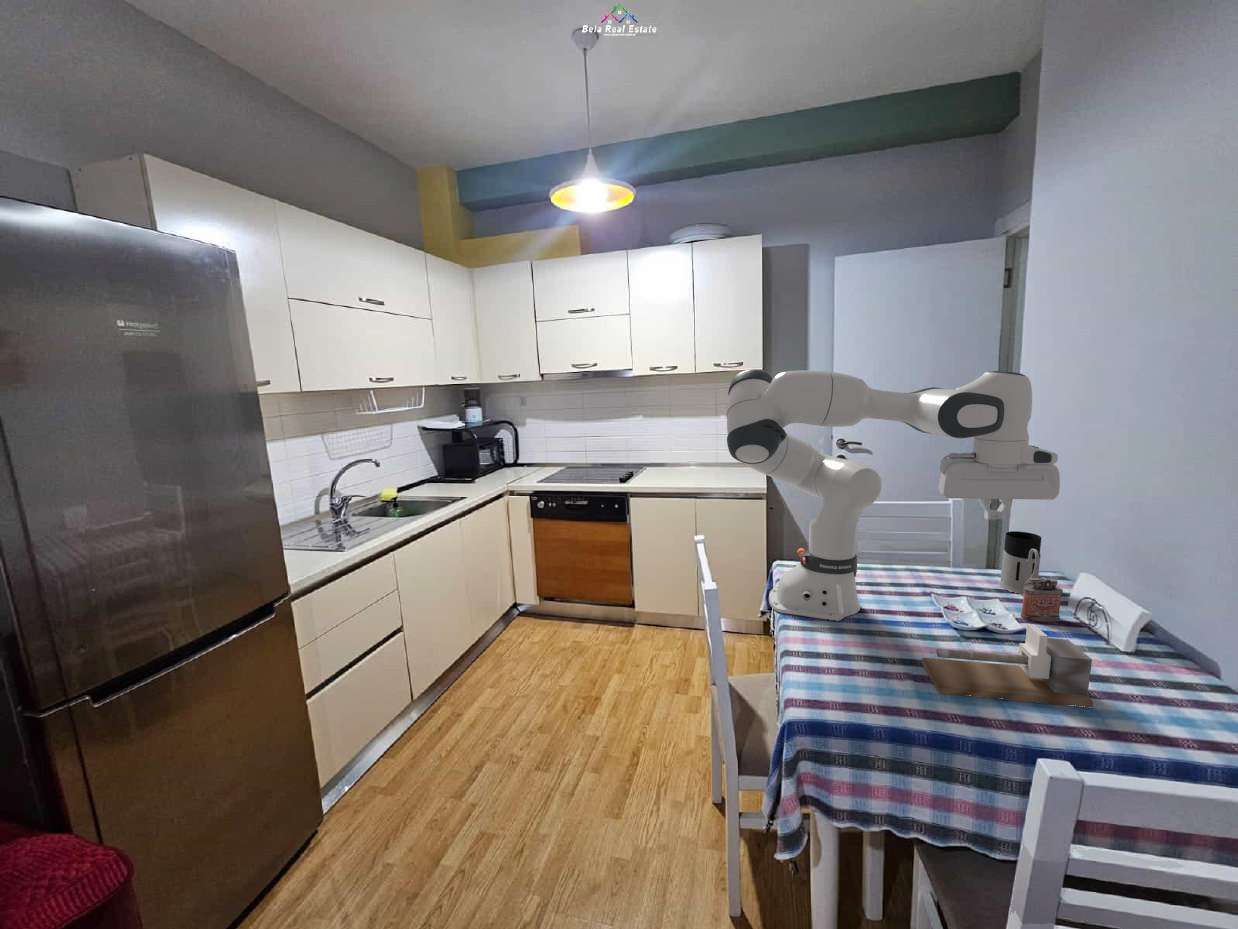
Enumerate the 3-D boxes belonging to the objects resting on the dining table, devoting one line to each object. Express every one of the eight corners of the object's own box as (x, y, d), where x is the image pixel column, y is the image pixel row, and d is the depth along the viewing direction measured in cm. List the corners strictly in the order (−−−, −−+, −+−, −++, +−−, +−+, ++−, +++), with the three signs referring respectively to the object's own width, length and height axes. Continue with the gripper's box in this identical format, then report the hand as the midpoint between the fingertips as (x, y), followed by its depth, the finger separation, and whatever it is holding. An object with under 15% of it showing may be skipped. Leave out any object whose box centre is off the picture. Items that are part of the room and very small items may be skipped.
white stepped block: (1029, 677, 94) (1034, 635, 93) (1017, 664, 99) (1021, 623, 97) (1048, 678, 94) (1053, 636, 92) (1035, 665, 98) (1040, 624, 96)
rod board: (939, 693, 96) (942, 651, 95) (922, 664, 106) (924, 626, 104) (1091, 708, 90) (1097, 664, 89) (1058, 676, 100) (1063, 635, 98)
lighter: (1052, 614, 124) (1057, 575, 122) (1063, 621, 120) (1067, 581, 119) (1017, 614, 124) (1020, 575, 123) (1026, 621, 121) (1030, 581, 119)
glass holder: (1031, 583, 141) (1036, 531, 138) (1054, 606, 128) (1060, 548, 125) (993, 580, 144) (998, 529, 141) (1012, 602, 131) (1017, 546, 128)
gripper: (947, 455, 102) (942, 522, 104) (1068, 455, 97) (1060, 525, 99) (935, 450, 108) (931, 514, 110) (1049, 450, 103) (1042, 516, 105)
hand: (993, 519), depth 105 cm, fingers closed
